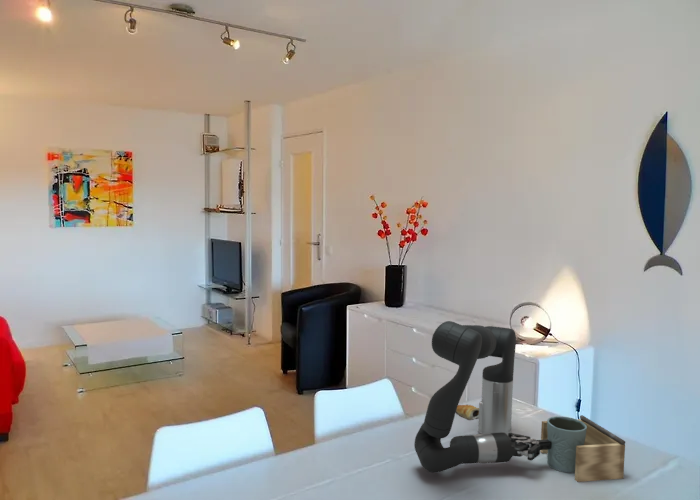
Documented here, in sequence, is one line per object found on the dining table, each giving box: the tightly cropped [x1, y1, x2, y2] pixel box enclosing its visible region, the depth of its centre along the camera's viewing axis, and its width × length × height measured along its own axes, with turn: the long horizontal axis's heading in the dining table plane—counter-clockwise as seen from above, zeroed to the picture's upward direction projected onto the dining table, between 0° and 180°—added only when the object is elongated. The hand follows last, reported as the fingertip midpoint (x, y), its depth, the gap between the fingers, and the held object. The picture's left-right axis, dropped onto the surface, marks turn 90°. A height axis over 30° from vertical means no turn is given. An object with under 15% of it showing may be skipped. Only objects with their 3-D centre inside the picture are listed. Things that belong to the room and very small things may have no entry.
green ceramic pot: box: [546, 415, 587, 474], centre depth 154 cm, size 10×10×12 cm
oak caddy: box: [540, 414, 626, 483], centre depth 155 cm, size 13×18×10 cm
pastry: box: [455, 404, 479, 421], centre depth 192 cm, size 9×7×4 cm
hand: (549, 444), depth 153 cm, fingers closed
